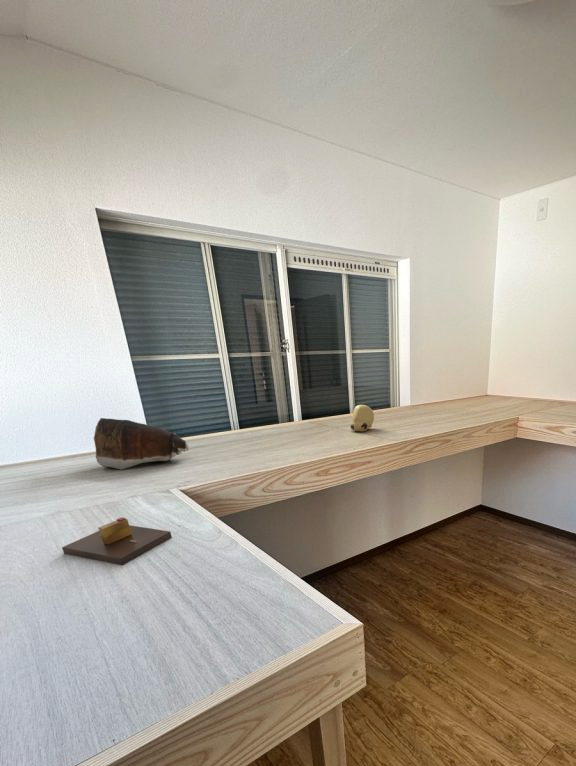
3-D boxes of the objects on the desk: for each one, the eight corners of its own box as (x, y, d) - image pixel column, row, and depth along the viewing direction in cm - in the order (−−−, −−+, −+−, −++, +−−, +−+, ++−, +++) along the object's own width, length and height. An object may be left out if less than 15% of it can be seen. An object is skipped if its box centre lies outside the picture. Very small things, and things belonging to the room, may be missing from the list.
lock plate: (66, 562, 75) (61, 546, 74) (119, 536, 85) (115, 522, 84) (125, 573, 71) (120, 557, 70) (174, 545, 81) (170, 530, 79)
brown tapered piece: (186, 427, 129) (92, 417, 121) (185, 476, 132) (93, 469, 124) (192, 425, 143) (107, 416, 134) (191, 469, 146) (108, 463, 138)
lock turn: (108, 544, 75) (102, 527, 73) (103, 543, 75) (97, 526, 74) (131, 534, 78) (127, 517, 77) (127, 533, 79) (122, 516, 78)
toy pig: (352, 437, 181) (343, 424, 171) (358, 413, 184) (349, 399, 175) (373, 438, 177) (365, 425, 168) (379, 413, 181) (371, 399, 171)
